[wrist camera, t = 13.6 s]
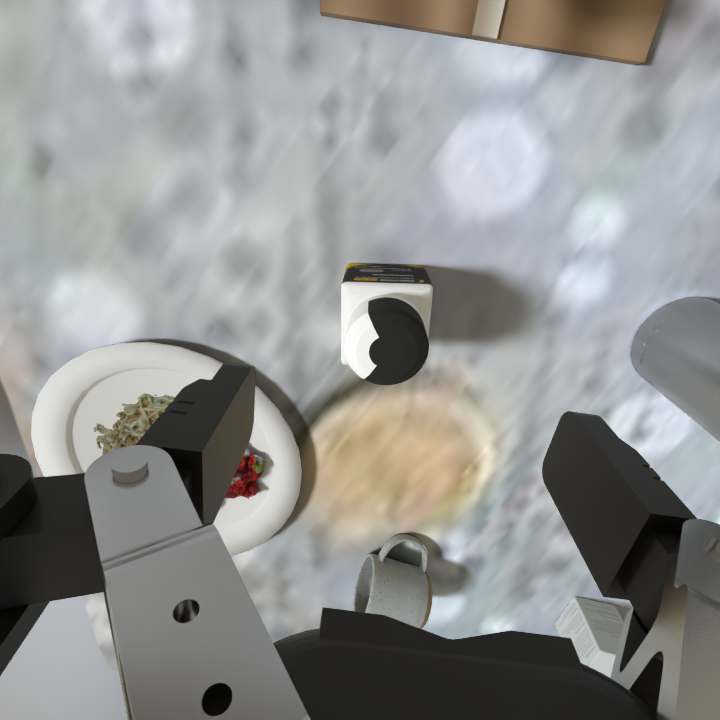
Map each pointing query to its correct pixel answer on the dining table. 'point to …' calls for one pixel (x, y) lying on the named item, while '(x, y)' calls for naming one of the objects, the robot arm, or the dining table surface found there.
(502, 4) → the post base
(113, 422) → the plated food
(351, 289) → the medicine bottle
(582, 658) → the product box
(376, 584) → the ceramic mug
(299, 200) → the dining table surface
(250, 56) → the dining table surface
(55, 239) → the dining table surface
